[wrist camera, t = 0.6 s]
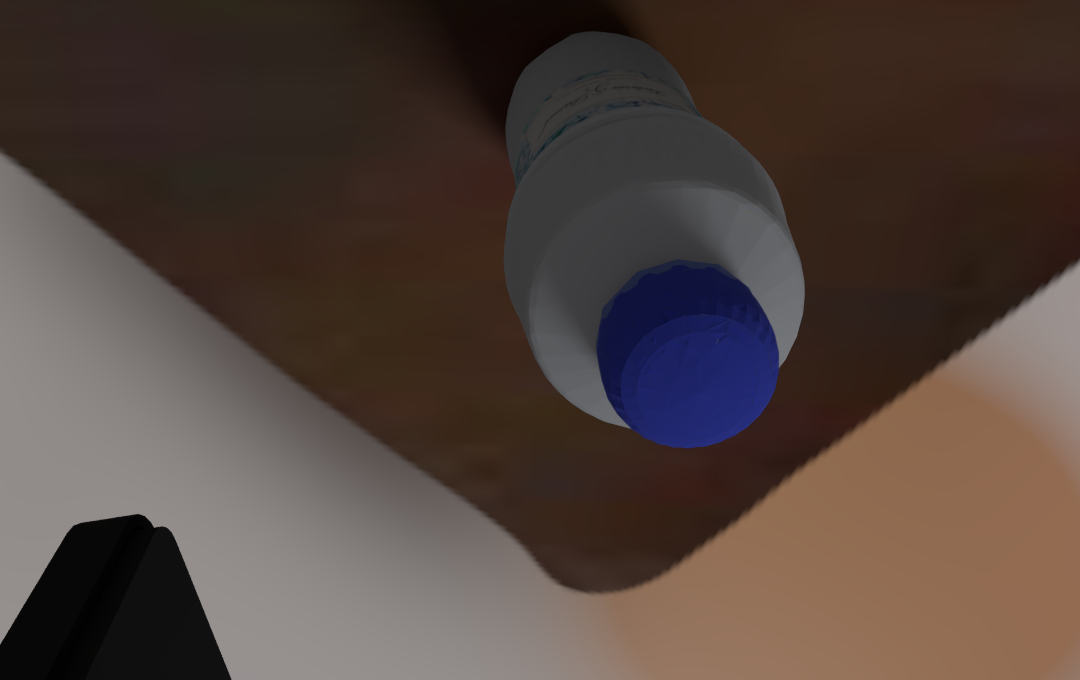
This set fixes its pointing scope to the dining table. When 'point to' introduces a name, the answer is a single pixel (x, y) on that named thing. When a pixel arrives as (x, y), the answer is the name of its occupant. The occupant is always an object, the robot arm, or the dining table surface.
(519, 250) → the bottle
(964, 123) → the dining table surface
